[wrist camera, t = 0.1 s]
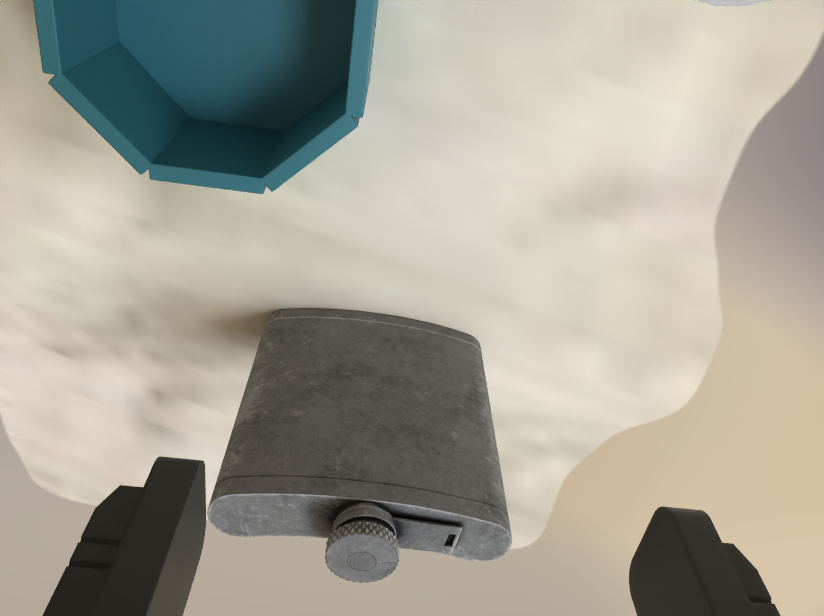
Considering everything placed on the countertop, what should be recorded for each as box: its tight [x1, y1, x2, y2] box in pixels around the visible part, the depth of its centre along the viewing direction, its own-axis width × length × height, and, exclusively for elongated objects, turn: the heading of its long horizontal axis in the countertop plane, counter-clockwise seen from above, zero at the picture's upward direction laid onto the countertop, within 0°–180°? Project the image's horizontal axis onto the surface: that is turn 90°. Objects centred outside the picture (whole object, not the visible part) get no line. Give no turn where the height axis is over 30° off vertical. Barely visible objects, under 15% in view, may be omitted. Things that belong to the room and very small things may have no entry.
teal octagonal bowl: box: [33, 0, 378, 194], centre depth 32 cm, size 14×14×8 cm
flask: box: [208, 309, 512, 583], centre depth 38 cm, size 4×14×18 cm, turn 80°
